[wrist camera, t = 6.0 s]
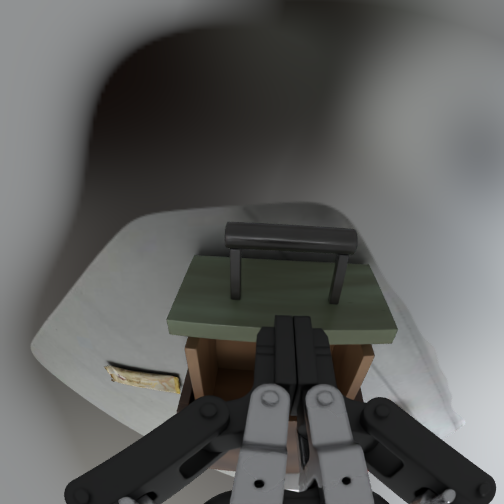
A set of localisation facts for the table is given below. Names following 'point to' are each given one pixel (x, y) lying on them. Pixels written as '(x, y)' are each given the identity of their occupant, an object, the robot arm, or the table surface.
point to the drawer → (277, 305)
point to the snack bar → (145, 379)
